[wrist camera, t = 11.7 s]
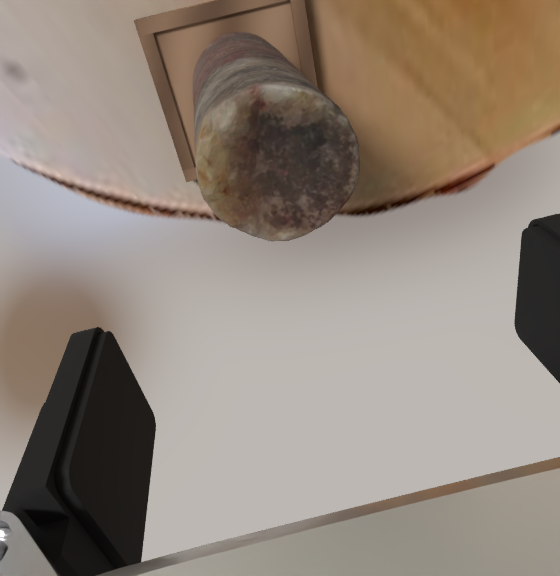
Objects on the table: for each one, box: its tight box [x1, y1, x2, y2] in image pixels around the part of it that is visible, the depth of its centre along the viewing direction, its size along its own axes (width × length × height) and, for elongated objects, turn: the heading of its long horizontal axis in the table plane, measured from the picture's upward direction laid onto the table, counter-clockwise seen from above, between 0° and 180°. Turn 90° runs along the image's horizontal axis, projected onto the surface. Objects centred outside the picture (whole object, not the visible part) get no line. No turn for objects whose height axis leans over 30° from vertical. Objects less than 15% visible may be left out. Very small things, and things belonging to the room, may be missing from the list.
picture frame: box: [134, 0, 318, 182], centre depth 38 cm, size 12×12×2 cm
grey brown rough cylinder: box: [192, 32, 360, 241], centre depth 29 cm, size 8×7×20 cm
